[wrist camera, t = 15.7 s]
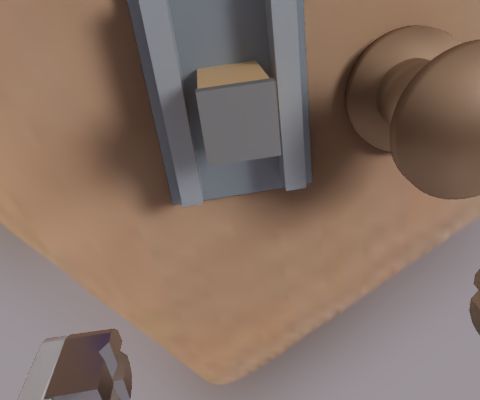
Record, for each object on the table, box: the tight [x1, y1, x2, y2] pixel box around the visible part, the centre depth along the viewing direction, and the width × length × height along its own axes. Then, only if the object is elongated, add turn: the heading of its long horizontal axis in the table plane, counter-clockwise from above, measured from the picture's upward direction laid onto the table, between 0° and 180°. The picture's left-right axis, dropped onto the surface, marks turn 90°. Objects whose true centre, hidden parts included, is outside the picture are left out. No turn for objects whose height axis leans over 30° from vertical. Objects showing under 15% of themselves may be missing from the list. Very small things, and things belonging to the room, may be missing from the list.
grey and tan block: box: [195, 61, 281, 166], centre depth 26 cm, size 4×4×7 cm
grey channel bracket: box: [127, 0, 312, 207], centre depth 28 cm, size 16×11×4 cm
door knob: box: [345, 26, 480, 199], centre depth 27 cm, size 9×9×9 cm
